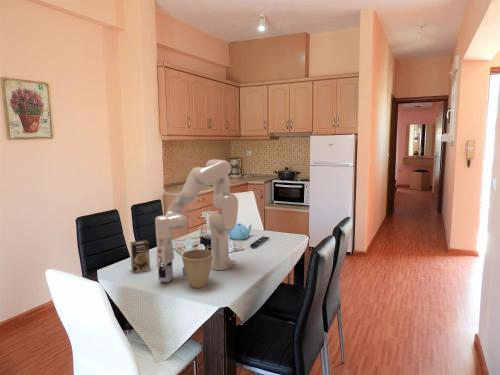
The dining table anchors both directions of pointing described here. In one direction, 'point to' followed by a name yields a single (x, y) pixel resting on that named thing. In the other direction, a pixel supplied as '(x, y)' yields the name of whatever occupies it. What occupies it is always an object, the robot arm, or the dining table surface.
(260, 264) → the dining table surface
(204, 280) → the plant pot
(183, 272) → the short post
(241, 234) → the teapot
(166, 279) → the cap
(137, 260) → the coffee box
